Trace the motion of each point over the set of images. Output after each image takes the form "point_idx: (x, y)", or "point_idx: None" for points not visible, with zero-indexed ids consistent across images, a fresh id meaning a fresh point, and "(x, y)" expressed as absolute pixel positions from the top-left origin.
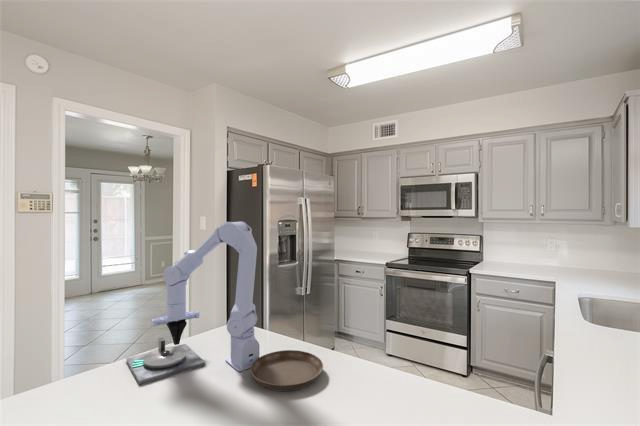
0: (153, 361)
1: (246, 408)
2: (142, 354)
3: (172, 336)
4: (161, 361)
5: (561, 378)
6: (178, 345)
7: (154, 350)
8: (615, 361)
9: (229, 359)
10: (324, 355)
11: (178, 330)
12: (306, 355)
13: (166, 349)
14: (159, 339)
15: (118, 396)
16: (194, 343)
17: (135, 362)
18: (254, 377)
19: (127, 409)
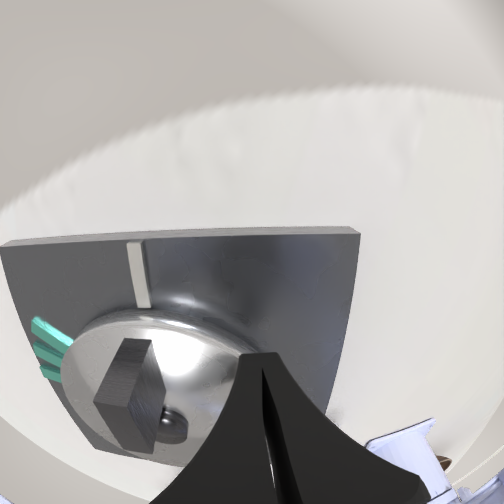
0: (115, 438)
1: None
2: (51, 247)
3: (233, 400)
4: (148, 454)
5: (467, 473)
6: (306, 234)
7: (100, 337)
8: (495, 454)
9: (378, 445)
10: (470, 436)
11: (278, 500)
12: (445, 464)
13: (178, 372)
14: (105, 422)
15: (66, 440)
16: (413, 199)
17: (39, 334)
18: None
19: (100, 473)
